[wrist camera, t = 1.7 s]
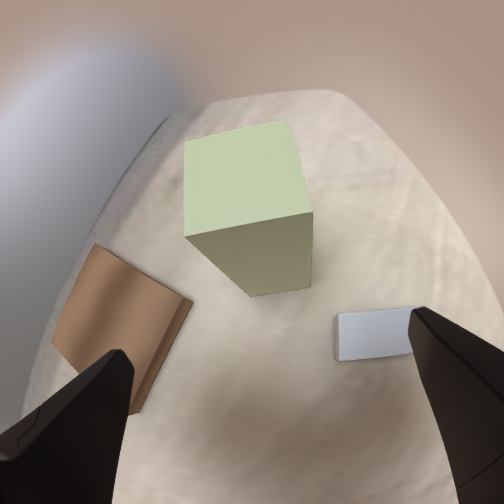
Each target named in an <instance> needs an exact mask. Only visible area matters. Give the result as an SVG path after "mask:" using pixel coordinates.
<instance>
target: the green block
mask: <svg viewBox="0 0 504 504" xmlns="http://www.w3.org/2000/svg"><path fill="white" fill-rule="evenodd" d="M184 237H185V238H186V239H187V240H188V241H189V242H191V243H192V244H193V245H194V246H195V247H196V248H197V249H198V250H199V251H200V252H201V253H202V254H204V255H205V256H206V257H207V258H208V259H209V260H210V261H211V262H212V263H213V264H214V265H216V266H217V267H218V268H219V269H220V270H221V271H222V272H223V273H224V274H225V275H227V276H228V277H229V278H230V279H231V280H232V281H233V282H234V283H235V284H237V285H238V286H239V287H240V288H241V289H242V290H243V291H244V292H246V293H247V294H248V295H249V296H250V297H253V296H259V295H265V294H272V293H278V292H284V291H290V290H295V289H301V288H307V287H310V285H311V267H312V242H313V208H312V204H311V200H310V196H309V192H308V188H307V184H306V181H305V177H304V173H303V169H302V166H301V162H300V158H299V155H298V151H297V148H296V144H295V141H294V138H293V134H292V131H291V127H290V124H289V121H288V119H284V120H278V121H272V122H267V123H262V124H257V125H252V126H248V127H243V128H239V129H234V130H230V131H226V132H222V133H218V134H214V135H210V136H206V137H203V138H199V139H195V140H192V141H188V142H185V150H184Z"/></svg>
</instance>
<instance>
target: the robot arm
mask: <svg viewBox="0 0 504 504" xmlns="http://www.w3.org/2000/svg"><path fill="white" fill-rule="evenodd" d="M408 338H409V341H410V344H411V347H412V351H413V354H414V357H415V361H416V364H417V368H418V371H419V375H420V378H421V381H422V384H423V386H424V389H425V391H426V394H427V397H428V399H429V402H430V405H431V407H432V410H433V413H434V416H435V419H436V421H437V424H438V427H439V430H440V433H441V437H442V440H443V443H444V446H445V449H446V453H447V456H448V460H449V463H450V467H451V471H452V475H453V479H454V483H455V487H456V492H457V497H458V502H459V504H504V352H503V351H501V350H500V349H498V348H496V347H495V346H493V345H491V344H490V343H488V342H486V341H485V340H483V339H481V338H480V337H478V336H476V335H474V334H473V333H471V332H469V331H468V330H466V329H464V328H462V327H461V326H459V325H457V324H455V323H454V322H452V321H450V320H448V319H447V318H445V317H443V316H441V315H439V314H438V313H436V312H434V311H432V310H430V309H429V308H427V307H425V306H422V307H418V308H414V309H412V310H411V313H410V319H409V325H408ZM134 374H135V369H134V366H133V364H132V362H131V361H130V359H129V358H128V356H127V355H126V353H125V352H124V351H123V350H122V349H112V350H110V351H108V352H107V353H106V354H105V355H103V356H102V357H101V358H99V359H98V360H97V361H96V362H94V363H93V364H92V365H91V366H89V367H88V368H87V369H85V370H84V371H83V372H82V373H80V374H79V375H78V376H77V377H75V378H74V379H73V380H72V381H70V382H69V383H68V384H66V385H65V386H64V387H63V388H61V389H60V390H59V391H58V392H56V393H55V394H54V395H53V396H51V397H50V398H49V399H48V400H46V401H45V402H44V403H43V404H41V406H39V407H37V408H36V409H35V410H34V411H32V412H31V413H30V414H29V415H27V416H26V417H25V418H23V419H22V420H20V421H19V422H18V423H16V424H15V425H13V426H12V427H10V428H9V429H8V430H6V431H4V432H3V433H2V434H0V504H112V498H113V491H114V484H115V478H116V472H117V467H118V461H119V456H120V451H121V446H122V441H123V436H124V431H125V427H126V422H127V418H128V413H129V408H130V401H131V394H132V387H133V380H134Z"/></svg>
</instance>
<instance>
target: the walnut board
mask: <svg viewBox="0 0 504 504" xmlns="http://www.w3.org/2000/svg"><path fill="white" fill-rule="evenodd" d="M192 304H193V302H192V301H190V300H189V299H187V298H185V297H183V296H181V295H180V294H178V293H176V292H175V291H173V290H171V289H169V288H168V287H166V286H164V285H163V284H161V283H159V282H157V281H156V280H154V279H152V278H151V277H149V276H148V275H146V274H144V273H143V272H141V271H139V270H138V269H136V268H135V267H133V266H131V265H130V264H128V263H127V262H125V261H123V260H122V259H120V258H119V257H117V256H116V255H114V254H112V253H111V252H109V251H108V250H106V249H104V248H103V247H101V246H99V245H97V244H96V243H94V245H93V247H92V249H91V251H90V253H89V255H88V257H87V259H86V261H85V263H84V265H83V267H82V269H81V271H80V273H79V275H78V277H77V279H76V282H75V284H74V286H73V288H72V290H71V293H70V295H69V297H68V300H67V302H66V304H65V307H64V309H63V312H62V314H61V317H60V319H59V322H58V324H57V327H56V329H55V332H54V335H53V338H52V341H51V342H52V344H53V345H54V346H55V347H56V348H57V350H58V351H59V352H60V353H61V354H62V355H63V356H64V358H65V359H66V360H67V361H68V362H69V363H70V364H71V365H72V366H73V367H74V369H75V370H76V371H77V372H78V373H79V374H80V373H82V372H83V371H84V370H85V369H87V368H88V367H89V366H91V365H92V364H93V363H94V362H96V361H97V360H98V359H99V358H101V357H102V356H103V355H105V354H106V353H107V352H108V351H110V350H112V349H122V350H123V351H124V352H125V353H126V355H127V356H128V358H129V359H130V361H131V362H132V364H133V366H134V369H135V374H134V380H133V387H132V394H131V401H130V408H129V413H128V416H129V415H132V414H136V413H139V411H140V409H141V407H142V405H143V403H144V401H145V398H146V396H147V394H148V392H149V390H150V388H151V386H152V384H153V382H154V380H155V378H156V376H157V374H158V372H159V369H160V367H161V365H162V363H163V361H164V359H165V357H166V355H167V353H168V351H169V349H170V347H171V345H172V343H173V341H174V339H175V337H176V335H177V333H178V331H179V329H180V327H181V325H182V323H183V321H184V320H185V318H186V316H187V314H188V312H189V310H190V308H191V306H192Z"/></svg>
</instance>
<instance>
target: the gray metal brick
mask: <svg viewBox="0 0 504 504" xmlns="http://www.w3.org/2000/svg"><path fill="white" fill-rule="evenodd" d="M418 307H422V306H416V307H407V308H397V309H387V310H376V311H363V312H350V313H338V314H337V315H336V316H335V317H334V346H335V359H336V360H338V361H346V360H358V359H368V358H378V357H386V356H394V355H402V354H408V353H413V351H412V347H411V344H410V341H409V338H408V325H409V319H410V313H411V310H412V309H414V308H418Z"/></svg>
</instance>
